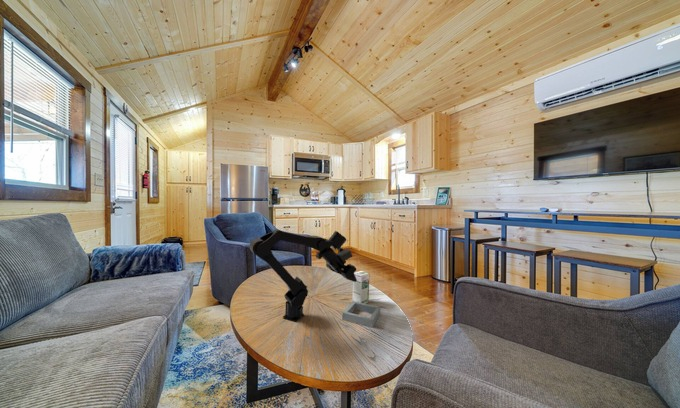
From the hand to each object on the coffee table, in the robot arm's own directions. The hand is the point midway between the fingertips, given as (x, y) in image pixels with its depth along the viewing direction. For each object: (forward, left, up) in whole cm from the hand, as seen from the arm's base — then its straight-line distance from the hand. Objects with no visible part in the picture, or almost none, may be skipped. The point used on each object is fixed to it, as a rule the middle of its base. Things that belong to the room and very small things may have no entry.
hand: (350, 278), depth 117 cm
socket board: (+9, -9, -13) cm, 18 cm away
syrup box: (+4, +5, -13) cm, 14 cm away
